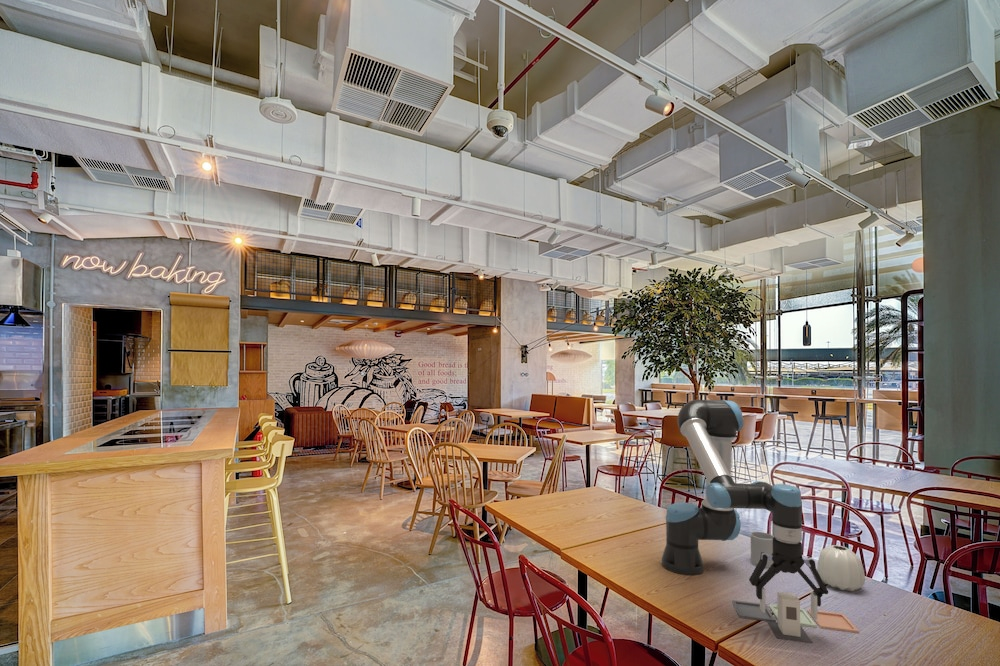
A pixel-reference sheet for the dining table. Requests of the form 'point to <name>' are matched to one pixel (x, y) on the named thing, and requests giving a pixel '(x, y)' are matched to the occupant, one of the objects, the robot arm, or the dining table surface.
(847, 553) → the vase
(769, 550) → the mug
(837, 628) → the tray terracotta
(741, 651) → the dining table surface
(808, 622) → the tray sage
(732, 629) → the dining table surface
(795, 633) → the letter block
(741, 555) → the dining table surface
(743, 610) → the tray charcoal
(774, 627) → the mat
